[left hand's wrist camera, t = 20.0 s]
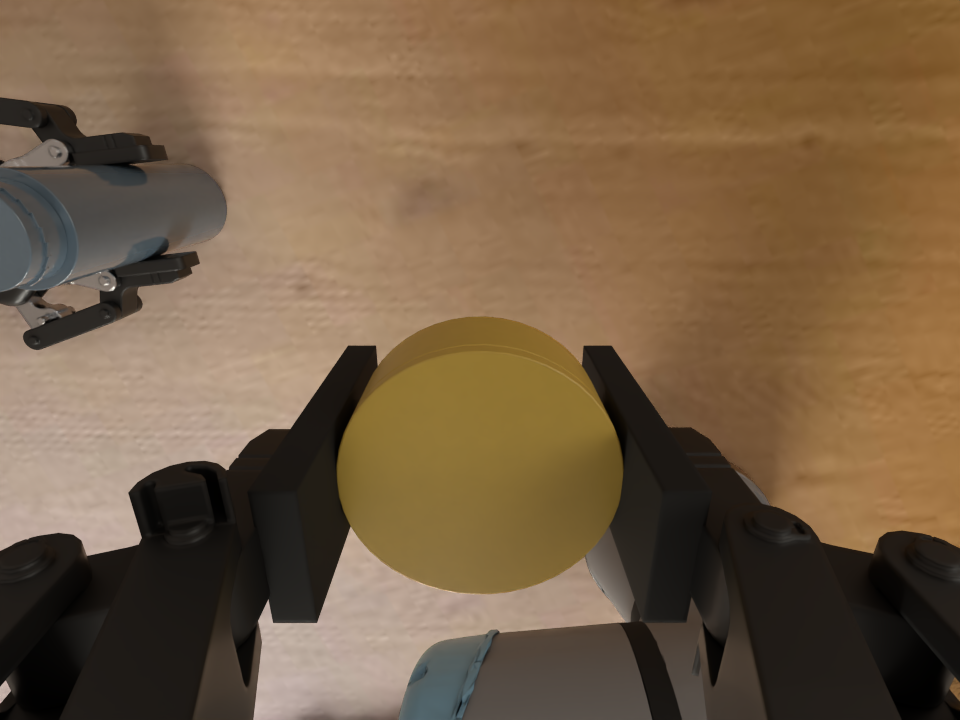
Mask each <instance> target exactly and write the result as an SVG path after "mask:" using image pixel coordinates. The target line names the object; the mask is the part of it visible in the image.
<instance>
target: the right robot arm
mask: <svg viewBox="0 0 960 720" xmlns="http://www.w3.org/2000/svg"><path fill="white" fill-rule="evenodd" d="M0 124H4V125H12V126H20V127H28V128H32V129H33V130H34V132H35V133H36V134H37V136H38V137H39V138H40V140H41V141H42V142H43V143H42V144H40V145H39V146H37V147H36V148H34V149H33V150H31V151H30V152H28V153H27V154H25V155H23V156H21V157H18V158H14V159H11V160H8V161H6V162H4V161H2V160H0V167H10V166H66V165H125V164H136V163H144V162H153V161H161V160H168V157H167V154H166V151H165V148H164V146H163V145H152V143H151V140H150V137H149V136H145V135H142V134H135V133H114V134H106V135H98V136H90V137H86V136H85V135H83V134H82V133H81V132H80V130H79V129H78V128H77V126H76V124H77V119H76V116H75V114H74V112H73V111H72V110H71V109H70V108H68V107H66V106H63V105H55V104H47V103H39V102H31V101H23V100H16V99H8V98H0ZM197 264H200V262H199V259H198V255H197V252H196V251H193V252H184V253H175V254H166V255H159V256H156V257H152V258H149V259H146V260H142V261H139V262H136V263H133V264H129V265H126V266H123V267H119V268H116V269H113V270H109V271H106V272H103V273H100V274H96V275H93V276H90V277H86V278H83V279H80V280H77V281H73V282H70V283H67V284H76V285H80V286H84V287H89V288H93V289H97V290H100V303H99V304H96V305H94V306H91V307H88V308H86V309H83V310H80V311H78V312H75V309H74V308H73V307H71V306H69V307H67V306H65V305H63V304H49V303H47V302H45V301H44V300H43V299H42V297H43V296H44V295H45V293H46V292H47V291H48V290H49V289H46V290H37V291H36V290H25V289H19V288H14V289H11V290H7V291H3V292H0V303H1V304H4V305H7V306H16V308H17V309H18V310H19V312H20V313H21V315H22V316H23V317H24V319H25V320H26V322H27V323H28V325H29V326H30V327H31V329H30V330H28V331H26V332H25V333H24V335H23V339H24V342H25V343H26V345H27V346H29V347H30V348H32V349H35V350H40V349H43V348H46V347H48V346H51V345H54V344H56V343H59V342H62V341H65V340H67V339H70V338H73V337H75V336H78V335H81V334H83V333H86V332H89V331H91V330H94V329H97V328H99V327H102V326H105V325H108V324H110V323H113V322H115V321H117V320H119V319H122V318H124V317H126V316H128V315H131V314H133V313H135V312H137V311H139V310H140V309H141V308H142V300H141V299H140V297H139V296H138V295H137V290H138V287H141V286H150V285H159V284H168V283H173V282H175V281H178V280H180V279H183V278H185V277H187V276H189V275H190V274H192V271H191V268H190V267H192V266H195V265H197Z"/></svg>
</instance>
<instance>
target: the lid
mask: <svg viewBox="0 0 960 720" xmlns="http://www.w3.org/2000/svg"><path fill="white" fill-rule="evenodd" d="M623 472H624V464H623V455H622V450H621V446H620V441H619V439H618V436H617V434H616V431H615V429H614V426H613V424H612V422H611V420H610V418H609V416H608V414H607V412H606V410H605V408H604V406H603V404H602V402H601V400H600V398H599V396H598V394H597V392H596V390H595V388H594V386H593V384H592V382H591V380H590V378H589V377H588V375H587V373H586V371H585V370H584V368H583V367H582V365H581V364H580V363H579V362H578V360H577V359H576V358H575V357H574V356H573V355H572V354H571V353H570V352H569V351H568V350H567V349H566V348H565V347H564V346H563V345H562V344H560V343H559V342H557V341H556V340H555V339H553V338H552V337H550V336H549V335H547V334H545V333H543V332H541V331H539V330H537V329H536V328H533V327H531V326H528V325H525V324H522V323H520V322H516V321H512V320H507V319H503V318H494V317H465V318H458V319H452V320H448V321H444V322H441V323H437V324H434V325H432V326H430V327H427V328H425V329H423V330H420V331H418V332H417V333H415V334H413V335H412V336H410V337H408V338H407V339H405V340H404V341H403V342H401V343H400V344H399V345H398V346H396V347H395V348H394V349H393V350H392V351H391V352H390V353H389V354H388V355H387V356H386V357H385V358H384V359H383V360H382V361H381V363H380V364H379V366H378V367H377V368H376V370H375V371H374V373H373V374H372V376H371V378H370V380H369V382H368V384H367V386H366V388H365V390H364V392H363V394H362V396H361V398H360V400H359V402H358V405H357V407H356V409H355V411H354V413H353V415H352V417H351V419H350V421H349V423H348V425H347V427H346V429H345V431H344V434H343V437H342V440H341V443H340V446H339V450H338V457H337V463H336V475H337V484H338V492H339V498H340V501H341V505H342V508H343V511H344V513H345V515H346V518H347V520H348V522H349V524H350V526H351V527H352V529H353V530H354V532H355V533H356V535H357V536H358V538H359V539H360V540H361V542H362V543H363V544H364V545H365V546H366V547H367V548H368V550H369V551H370V552H371V553H373V554H374V555H375V556H376V557H377V558H378V559H379V560H380V561H381V562H383V563H384V564H386V565H387V566H389V567H390V568H391V569H393V570H394V571H396V572H398V573H400V574H401V575H403V576H405V577H407V578H409V579H411V580H413V581H416V582H418V583H421V584H423V585H426V586H429V587H433V588H436V589H439V590H444V591H449V592H455V593H463V594H497V593H505V592H511V591H515V590H520V589H524V588H528V587H531V586H534V585H536V584H539V583H542V582H544V581H546V580H549V579H551V578H553V577H555V576H557V575H559V574H560V573H562V572H564V571H565V570H567V569H569V568H570V567H572V566H573V565H574V564H575V563H577V562H578V561H579V560H581V559H582V558H583V557H584V556H585V555H586V554H587V553H588V552H589V551H590V550H591V549H592V548H593V547H594V546H595V545H596V544H597V543H598V541H599V540H600V539H601V538H602V536H603V535H604V534H605V532H606V530H607V529H608V527H609V525H610V524H611V522H612V520H613V518H614V515H615V513H616V511H617V508H618V506H619V502H620V497H621V489H622V481H623Z"/></svg>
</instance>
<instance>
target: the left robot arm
mask: <svg viewBox="0 0 960 720" xmlns="http://www.w3.org/2000/svg"><path fill="white" fill-rule="evenodd" d="M377 367H378V365H377V352H376V346H348V347H347V348H346V350H345V351H344V353H343V354H342V355H341V357H340V358H339V360H338V361H337V363H336V364H335V365H334V367H333V368H332V370H331V371H330V373H329V374H328V376H327V377H326V378H325V380H324V381H323V383H322V384H321V386H320V387H319V389H318V390H317V391H316V393H315V394H314V396H313V397H312V399H311V400H310V402H309V403H308V404H307V406H306V407H305V409H304V410H303V412H302V413H301V415H300V416H299V417H298V419H297V420H296V422H295V423H294V425H293V426H292V428H291V429H269V430H267V431H265V432H264V433H262V434H261V435H259V436H257V437H256V438H254V439H253V440H251V441H250V442H249V443H248V444H247V445H246V447H245V448H244V449H243V450H242V452H241V453H240V454H239V457H238V458H236V459H235V460H234V462H233V463H232V464H231V465H230V467H229V470H226V469H224V468H223V467H222V466H220V465H219V464H217V463H213V462H208V461H194V462H185V463H181V464H176V465H172V466H169V467H166V468H164V469H161V470H159V471H156V472H154V473H152V474H150V475H148V476H147V477H145V478H144V479H142V480H141V481H139V482H137V484H136V485H135V486H134V487H133V488H132V489H131V490H130V491H129V496H130V500H131V503H132V506H133V510H134V513H135V516H136V520H137V523H138V526H139V530H140V533H141V536H142V539H141V541H140V543H139V545H136V546H132V547H128V548H123V549H118V550H114V551H109V552H104V553H99V554H95V555H90V556H87V555H86V552H85V550H84V547H83V544H82V541H81V540H80V539H78V538H77V537H76V536H74V535H71V534H62V533H55V534H48V535H41V536H36V537H32V538H29V539H28V540H27V539H25V540H23V541H20V542H17V543H15V544H13V545H12V546H10V547H8V548H6V549H4V550H2V551H0V686H1V685H2V684H3V683H4V681H5V680H6V681H7V683H8V685H9V687H10V689H11V692H10V693H9V694H8V695H7V697H6V698H5V699H4V700H3V701H2V703H0V720H253V717H254V708H255V699H256V690H257V681H258V672H259V663H260V654H261V645H262V640H261V634H260V628H259V624H258V620H259V618H260V615H261V613H262V611H263V609H264V607H265V605H266V603H267V601H268V599H269V604H270V609H271V614H272V619H273V623H317V621H318V618H319V615H320V613H321V610H322V607H323V604H324V601H325V598H326V595H327V592H328V590H329V587H330V584H331V581H332V578H333V575H334V572H335V570H336V567H337V564H338V561H339V558H340V555H341V552H342V549H343V547H344V544H345V541H346V538H347V535H348V532H349V529H350V524H349V522H348V520H347V518H346V515H345V513H344V511H343V508H342V505H341V501H340V498H339V492H338V484H337V475H336V463H337V457H338V450H339V446H340V443H341V440H342V437H343V434H344V431H345V429H346V427H347V425H348V423H349V421H350V419H351V417H352V415H353V413H354V411H355V409H356V407H357V405H358V402H359V400H360V398H361V396H362V394H363V392H364V390H365V388H366V386H367V384H368V382H369V380H370V378H371V376H372V374H373V373H374V371H375V370H376V368H377ZM582 367H583V368H584V370H585V371H586V373H587V375H588V377H589V378H590V380H591V382H592V384H593V386H594V388H595V390H596V392H597V394H598V396H599V398H600V400H601V402H602V404H603V406H604V408H605V410H606V412H607V414H608V416H609V418H610V420H611V422H612V424H613V426H614V429H615V431H616V434H617V436H618V439H619V441H620V446H621V450H622V455H623V464H624V472H623V481H622V489H621V497H620V502H619V506H618V508H617V511H616V513H615V515H614V518H613V520H612V522H611V524H610V525H609V527H608V529H607V530H606V532H605V534H604V535H603V536H602V538H601V539H600V540H599V541H598V543H597V544H596V545H595V546H594V547H593V548H592V549H591V550H590V551H589V552H588V553H587V554H586V555H585V558H586V562H587V565H588V568H589V571H590V573H591V575H592V577H593V579H594V580H595V582H596V584H597V585H598V587H599V588H600V589H601V591H602V592H603V593H604V594H605V595H606V596H607V597H608V599H610V601H611V602H612V604H613V605H614V606H615V608H616V609H617V611H618V612H619V613H620V615H621V616H622V617H623V619H624V620H625V622H626V623H611V624H599V625H587V626H576V627H564V628H553V629H541V630H530V631H518V632H506V633H500V632H499V631H498V630H490V631H489V632H488V633H487V634H484V635H477V636H470V637H463V638H456V639H449V640H444V641H441V642H438V643H436V644H434V645H433V646H431V647H430V648H429V649H428V650H427V651H426V652H425V653H424V654H423V655H422V657H421V658H420V659H419V661H418V663H417V664H416V666H415V668H414V670H413V672H412V675H411V677H410V680H409V683H408V686H407V689H406V692H405V695H404V699H403V703H402V706H401V710H400V714H399V719H398V720H960V701H959V700H958V699H957V697H956V696H955V695H954V694H953V693H952V691H951V690H950V689H949V688H950V686H951V684H952V682H953V680H954V678H956V679H957V680H958V681H959V682H960V548H958V547H956V546H954V545H952V544H950V543H948V542H947V541H945V540H942V539H939V538H936V537H931V536H930V535H926V534H922V533H915V532H908V531H895V532H887V533H886V534H884V535H883V536H882V537H880V538H879V540H878V543H877V546H876V548H875V551H874V554H872V553H867V552H862V551H857V550H852V549H848V548H843V547H838V546H833V545H829V544H825V543H822V542H820V540H819V538H818V536H817V535H816V534H815V532H814V531H813V530H812V528H811V527H810V526H809V525H808V524H806V523H805V522H803V521H802V520H801V519H799V518H798V517H797V516H795V515H793V514H791V513H789V512H786V511H784V510H782V509H780V508H777V507H773V506H770V504H769V502H768V500H767V498H766V497H765V495H764V494H763V492H762V491H761V490H760V489H759V488H758V486H757V485H756V484H755V483H754V482H753V481H752V479H751V478H750V477H749V476H748V475H747V474H746V473H745V472H744V471H742V470H741V469H740V468H738V467H737V466H735V465H734V464H732V463H730V462H728V461H727V460H726V459H725V457H724V456H721V452H720V451H719V450H718V449H717V447H716V446H715V445H714V444H713V443H712V441H711V440H710V439H708V438H707V437H705V436H704V435H702V434H700V433H699V432H697V431H696V430H694V429H692V428H668V427H667V425H666V424H665V422H664V421H663V419H662V418H661V417H660V415H659V414H658V412H657V411H656V409H655V408H654V406H653V405H652V404H651V402H650V401H649V399H648V398H647V396H646V395H645V393H644V392H643V391H642V389H641V388H640V386H639V385H638V383H637V382H636V380H635V379H634V378H633V376H632V375H631V373H630V372H629V370H628V369H627V367H626V366H625V365H624V363H623V362H622V360H621V359H620V357H619V356H618V354H617V353H616V352H615V350H614V349H613V347H612V346H584V348H583V361H582Z"/></svg>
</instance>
